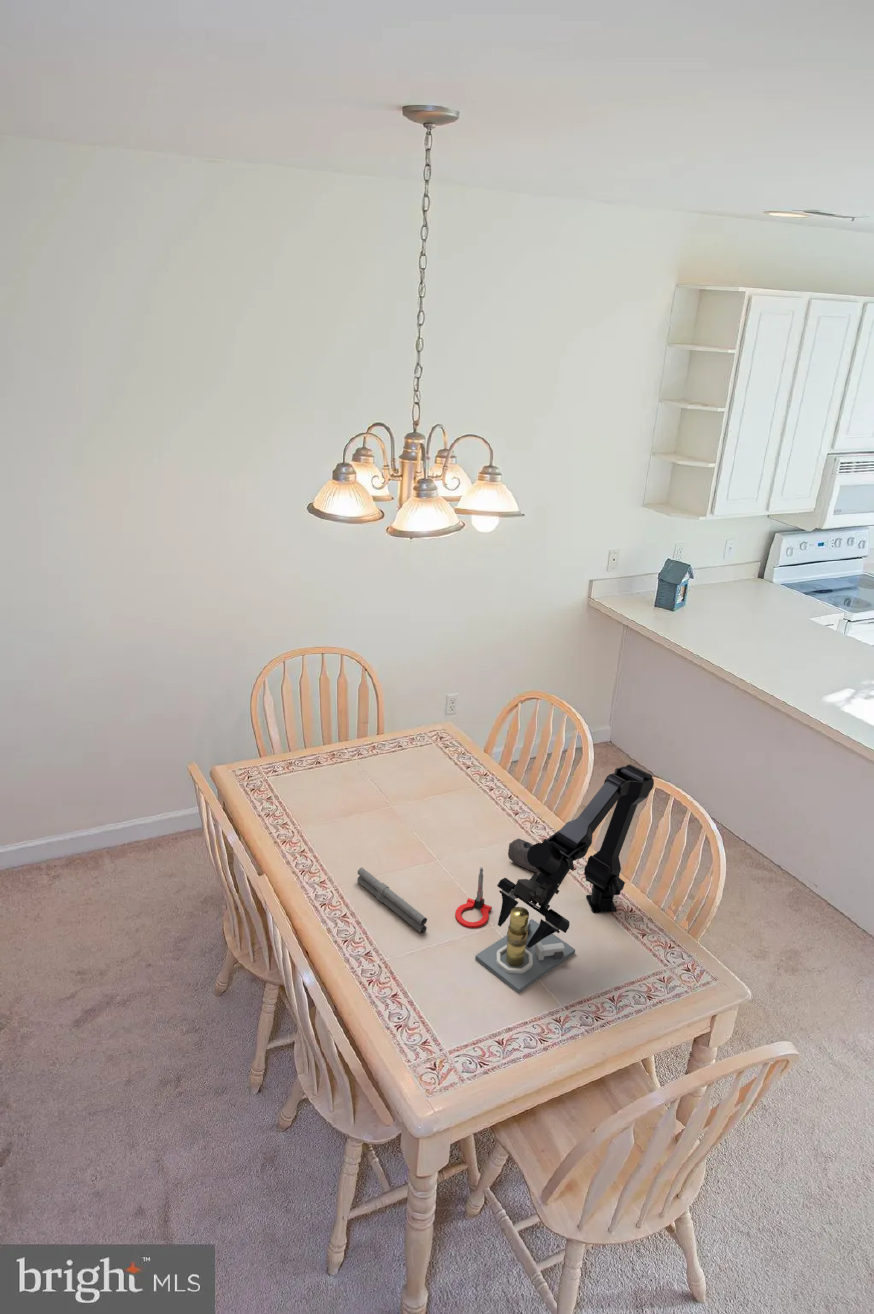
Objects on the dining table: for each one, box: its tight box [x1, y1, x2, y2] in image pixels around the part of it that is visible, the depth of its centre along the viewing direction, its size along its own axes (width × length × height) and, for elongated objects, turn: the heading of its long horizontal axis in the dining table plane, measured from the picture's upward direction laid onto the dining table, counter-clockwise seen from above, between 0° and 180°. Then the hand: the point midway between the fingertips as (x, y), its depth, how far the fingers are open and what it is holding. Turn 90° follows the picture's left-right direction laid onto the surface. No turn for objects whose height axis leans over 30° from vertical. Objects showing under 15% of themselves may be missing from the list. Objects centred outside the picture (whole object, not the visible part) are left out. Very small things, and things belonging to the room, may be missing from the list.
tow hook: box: [454, 866, 493, 929], centre depth 219 cm, size 8×13×9 cm
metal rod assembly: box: [356, 867, 428, 934], centre depth 223 cm, size 26×3×5 cm, turn 43°
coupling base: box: [475, 918, 576, 994], centre depth 209 cm, size 20×14×4 cm
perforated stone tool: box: [507, 838, 541, 874], centre depth 239 cm, size 15×5×7 cm, turn 54°
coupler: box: [506, 906, 530, 966], centre depth 204 cm, size 5×5×14 cm
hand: (513, 936), depth 202 cm, fingers open, 9 cm apart
